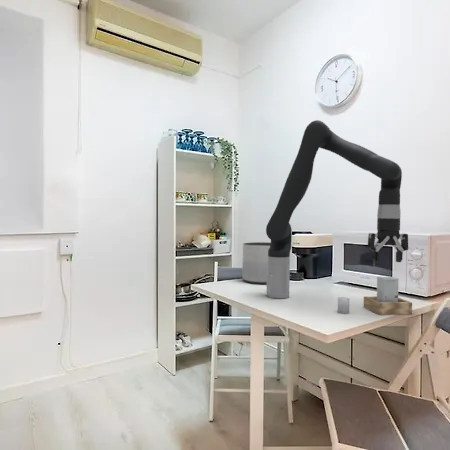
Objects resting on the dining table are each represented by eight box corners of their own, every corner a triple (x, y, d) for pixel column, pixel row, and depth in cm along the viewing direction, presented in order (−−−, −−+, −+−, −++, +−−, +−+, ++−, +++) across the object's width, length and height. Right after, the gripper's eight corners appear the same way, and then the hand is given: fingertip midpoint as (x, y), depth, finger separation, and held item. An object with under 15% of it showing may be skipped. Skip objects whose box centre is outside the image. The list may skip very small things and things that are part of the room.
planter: (233, 280, 181) (233, 243, 181) (261, 275, 196) (261, 241, 196) (265, 287, 165) (266, 246, 164) (293, 281, 180) (293, 244, 180)
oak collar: (378, 314, 117) (378, 303, 117) (363, 307, 128) (363, 296, 127) (412, 314, 118) (412, 302, 118) (394, 306, 129) (394, 296, 129)
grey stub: (340, 314, 118) (340, 299, 118) (335, 310, 122) (335, 297, 122) (351, 313, 119) (351, 299, 118) (346, 310, 123) (346, 297, 122)
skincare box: (383, 312, 120) (384, 278, 120) (375, 309, 125) (376, 276, 124) (398, 311, 121) (399, 278, 121) (390, 308, 126) (391, 276, 126)
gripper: (375, 217, 118) (374, 263, 118) (413, 217, 119) (412, 263, 119) (364, 217, 125) (363, 260, 126) (400, 217, 127) (399, 260, 127)
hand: (387, 261), depth 123 cm, fingers open, 8 cm apart
